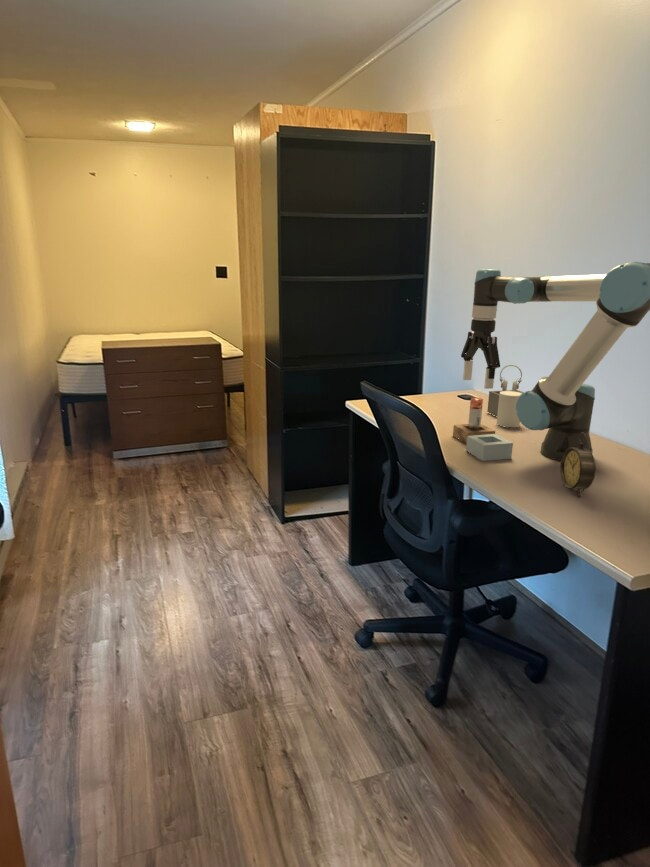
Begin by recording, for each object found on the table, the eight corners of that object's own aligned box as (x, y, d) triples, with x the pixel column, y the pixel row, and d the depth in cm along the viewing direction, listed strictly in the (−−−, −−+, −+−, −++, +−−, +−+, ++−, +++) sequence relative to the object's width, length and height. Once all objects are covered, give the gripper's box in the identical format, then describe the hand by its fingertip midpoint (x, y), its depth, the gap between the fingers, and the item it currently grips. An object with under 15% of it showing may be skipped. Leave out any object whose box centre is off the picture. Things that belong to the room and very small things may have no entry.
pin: (481, 440, 200) (485, 400, 196) (471, 441, 199) (474, 400, 195) (475, 437, 203) (478, 397, 199) (465, 438, 202) (468, 398, 198)
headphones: (495, 415, 233) (500, 364, 227) (496, 412, 236) (501, 363, 231) (517, 417, 230) (523, 366, 224) (517, 414, 234) (523, 364, 228)
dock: (511, 458, 182) (513, 442, 181) (482, 461, 179) (484, 445, 178) (493, 448, 191) (495, 433, 190) (465, 451, 188) (467, 436, 187)
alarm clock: (556, 484, 162) (564, 426, 157) (575, 483, 162) (584, 426, 157) (575, 499, 151) (583, 439, 147) (595, 499, 151) (605, 438, 147)
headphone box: (526, 416, 231) (529, 394, 228) (498, 418, 228) (501, 395, 225) (514, 411, 239) (516, 389, 236) (487, 413, 235) (489, 391, 233)
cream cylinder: (520, 428, 215) (524, 396, 211) (497, 427, 216) (501, 395, 212) (517, 422, 222) (521, 391, 219) (495, 421, 223) (498, 390, 220)
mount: (494, 442, 198) (495, 430, 197) (467, 444, 195) (468, 432, 194) (478, 434, 207) (479, 423, 206) (452, 436, 204) (453, 424, 203)
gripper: (516, 323, 179) (508, 391, 185) (474, 314, 202) (468, 376, 208) (494, 323, 177) (487, 392, 183) (454, 315, 200) (449, 376, 206)
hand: (477, 384), depth 196 cm, fingers open, 13 cm apart
